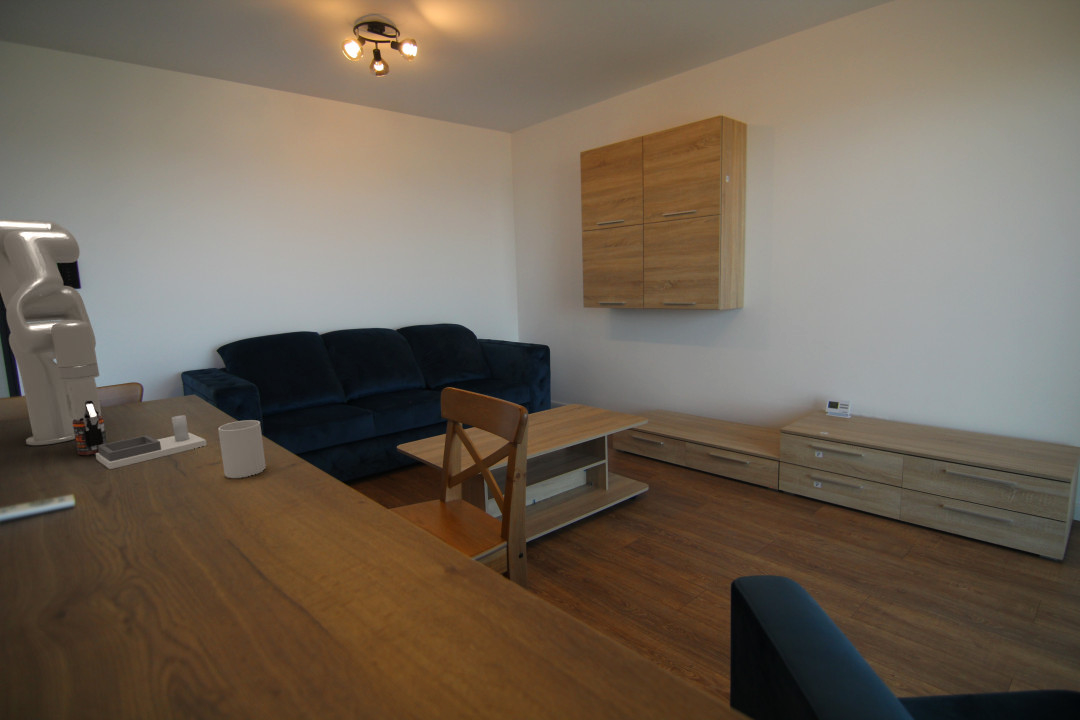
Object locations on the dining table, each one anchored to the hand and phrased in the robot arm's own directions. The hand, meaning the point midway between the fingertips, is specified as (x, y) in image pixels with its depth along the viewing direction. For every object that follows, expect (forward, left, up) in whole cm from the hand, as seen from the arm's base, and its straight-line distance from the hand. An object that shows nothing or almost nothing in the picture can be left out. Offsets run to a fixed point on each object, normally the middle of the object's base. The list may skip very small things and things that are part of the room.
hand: (91, 442), depth 137 cm
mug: (+47, +17, -3) cm, 50 cm away
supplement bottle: (0, 0, -3) cm, 3 cm away
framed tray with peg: (+14, +9, -3) cm, 17 cm away
